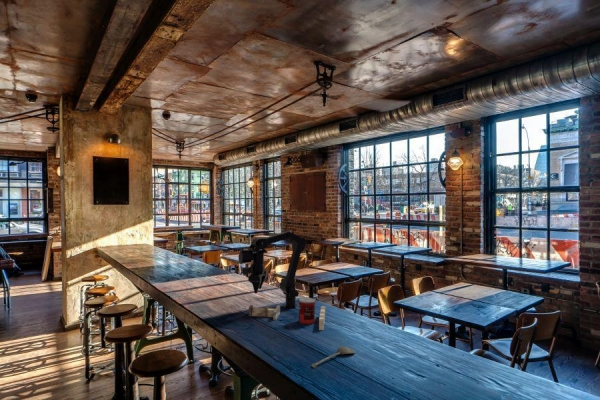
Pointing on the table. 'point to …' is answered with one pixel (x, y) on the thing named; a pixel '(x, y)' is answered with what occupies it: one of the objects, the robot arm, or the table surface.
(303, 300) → the canned food
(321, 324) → the stop rail
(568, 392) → the table surface
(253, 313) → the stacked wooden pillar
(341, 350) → the soupspoon
